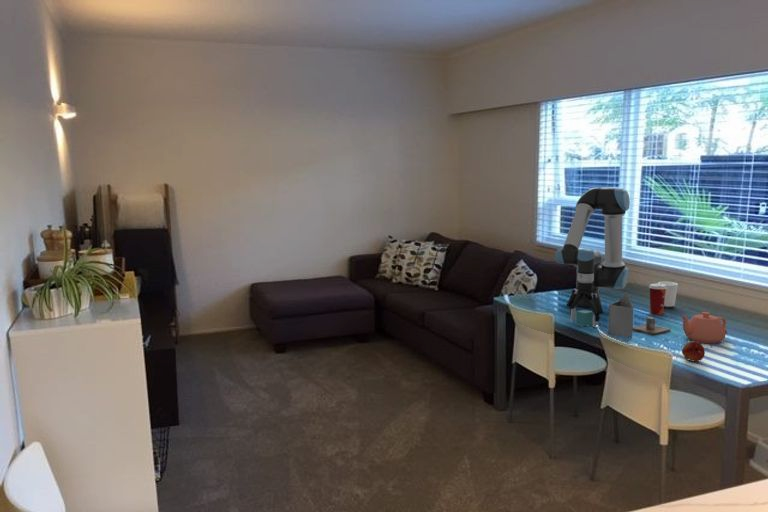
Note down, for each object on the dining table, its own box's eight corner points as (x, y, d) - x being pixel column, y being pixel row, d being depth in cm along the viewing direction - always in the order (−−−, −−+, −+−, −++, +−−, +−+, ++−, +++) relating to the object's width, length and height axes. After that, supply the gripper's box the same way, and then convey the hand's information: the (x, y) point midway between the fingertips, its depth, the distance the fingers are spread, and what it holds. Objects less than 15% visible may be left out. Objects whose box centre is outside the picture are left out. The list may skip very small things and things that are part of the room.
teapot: (689, 346, 252) (691, 318, 250) (668, 336, 267) (669, 309, 265) (738, 344, 254) (740, 315, 252) (714, 334, 269) (715, 307, 267)
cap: (576, 324, 290) (576, 311, 289) (583, 322, 292) (583, 309, 291) (584, 326, 285) (585, 313, 284) (592, 325, 288) (592, 311, 287)
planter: (602, 328, 282) (603, 288, 280) (619, 328, 282) (621, 288, 279) (614, 338, 266) (616, 296, 263) (632, 338, 266) (634, 295, 263)
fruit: (682, 363, 232) (683, 343, 231) (680, 357, 239) (681, 337, 238) (705, 365, 229) (706, 345, 228) (702, 358, 237) (703, 339, 235)
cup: (671, 309, 314) (673, 286, 312) (653, 306, 321) (654, 283, 319) (679, 306, 320) (681, 283, 318) (661, 303, 328) (662, 280, 326)
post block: (630, 329, 279) (631, 317, 278) (647, 325, 285) (647, 313, 284) (653, 335, 269) (654, 322, 268) (670, 331, 275) (670, 318, 274)
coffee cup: (667, 315, 302) (668, 286, 300) (649, 315, 304) (651, 286, 302) (663, 311, 310) (664, 283, 308) (646, 311, 312) (647, 283, 310)
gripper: (560, 278, 294) (559, 320, 298) (601, 286, 273) (599, 331, 276) (570, 276, 298) (569, 318, 301) (612, 284, 277) (610, 329, 280)
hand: (584, 324), depth 289 cm, fingers open, 13 cm apart
